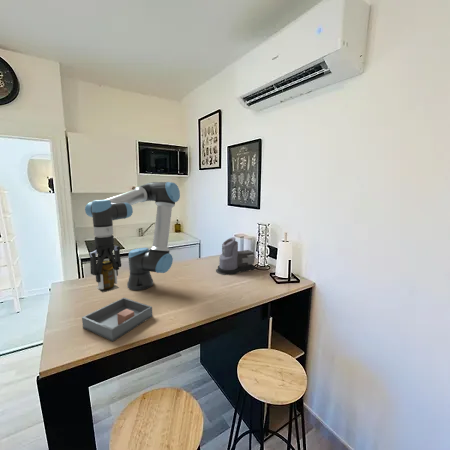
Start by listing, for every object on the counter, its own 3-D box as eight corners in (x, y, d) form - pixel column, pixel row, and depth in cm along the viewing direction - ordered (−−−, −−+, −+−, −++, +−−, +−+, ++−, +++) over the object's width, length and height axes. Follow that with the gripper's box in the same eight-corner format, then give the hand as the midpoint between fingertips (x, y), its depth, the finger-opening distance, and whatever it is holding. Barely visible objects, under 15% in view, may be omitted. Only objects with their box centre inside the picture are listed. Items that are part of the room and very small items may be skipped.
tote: (82, 327, 107) (81, 317, 106) (124, 306, 126) (123, 297, 125) (112, 341, 98) (111, 330, 97) (152, 316, 116) (152, 306, 115)
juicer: (221, 276, 168) (221, 241, 164) (212, 269, 182) (212, 236, 178) (258, 270, 180) (259, 237, 176) (248, 264, 194) (248, 233, 190)
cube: (117, 324, 108) (117, 313, 107) (127, 318, 112) (126, 308, 112) (125, 327, 106) (124, 316, 105) (134, 321, 110) (134, 311, 109)
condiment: (112, 282, 116) (110, 258, 114) (119, 288, 110) (117, 262, 108) (95, 287, 111) (93, 262, 109) (102, 293, 105) (100, 266, 103)
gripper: (87, 240, 97) (92, 295, 100) (128, 232, 113) (131, 280, 117) (76, 238, 100) (82, 291, 104) (117, 231, 117) (120, 277, 120)
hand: (108, 285), depth 110 cm, fingers closed on condiment, 6 cm apart
